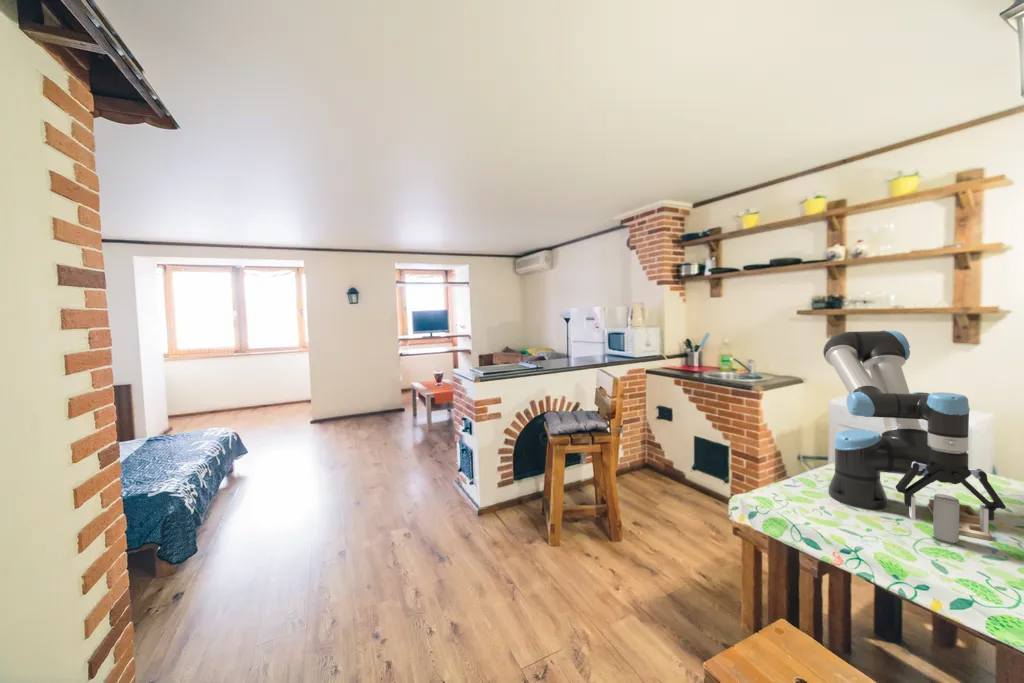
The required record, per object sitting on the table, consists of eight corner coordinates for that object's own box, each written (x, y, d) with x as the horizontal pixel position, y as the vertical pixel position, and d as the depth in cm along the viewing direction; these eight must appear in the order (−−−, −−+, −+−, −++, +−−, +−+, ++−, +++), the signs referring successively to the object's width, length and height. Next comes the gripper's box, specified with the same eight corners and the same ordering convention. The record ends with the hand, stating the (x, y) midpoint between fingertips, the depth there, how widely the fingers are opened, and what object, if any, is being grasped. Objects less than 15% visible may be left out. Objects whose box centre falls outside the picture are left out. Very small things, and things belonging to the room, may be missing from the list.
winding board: (942, 531, 112) (943, 520, 112) (927, 507, 125) (927, 498, 124) (990, 540, 106) (990, 529, 106) (969, 514, 119) (969, 504, 119)
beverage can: (964, 544, 105) (965, 502, 105) (943, 543, 106) (943, 501, 106) (948, 534, 110) (949, 494, 109) (928, 533, 111) (928, 493, 110)
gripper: (887, 446, 111) (887, 517, 112) (1025, 461, 96) (1024, 543, 97) (882, 439, 117) (882, 507, 118) (1012, 452, 102) (1010, 530, 103)
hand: (946, 523), depth 108 cm, fingers open, 13 cm apart
